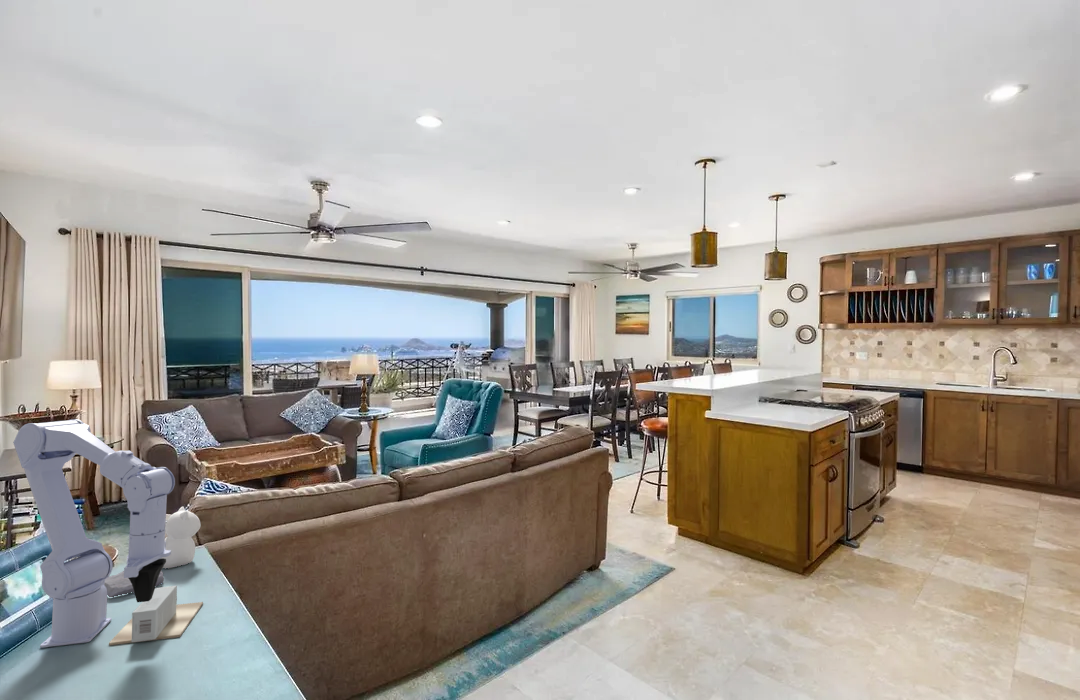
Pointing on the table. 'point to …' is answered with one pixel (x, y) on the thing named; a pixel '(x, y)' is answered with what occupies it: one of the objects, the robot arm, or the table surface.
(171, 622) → the birch board
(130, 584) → the stone block
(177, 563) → the cat figurine
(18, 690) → the table surface
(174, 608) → the skincare box
